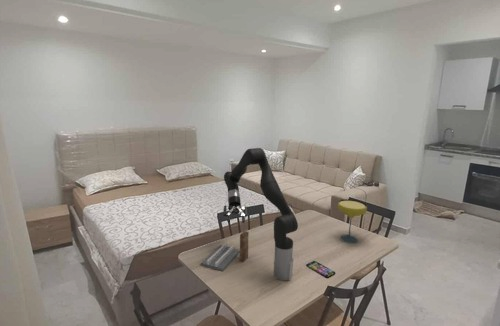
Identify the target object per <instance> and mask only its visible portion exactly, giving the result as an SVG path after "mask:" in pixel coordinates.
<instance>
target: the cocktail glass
mask: <svg viewBox="0 0 500 326" xmlns="http://www.w3.org/2000/svg"><path fill="white" fill-rule="evenodd" d="M337 209H338V210H339V211H340V212H341V213H342V214H344V215H346V216H348V218H349V219H350V220H349V228H348V234H343V235H341V236H340V240H341V239H342V241H343V242H344V243H349V244H354V243H357V242H358V238H357V237H355V236H353V235H351V226H352V220H353V218H355V217H359V216H362V215H364V214H366V212H367V211H368V206H367V204H366V203H365V202H363V201H361V200H356V199H355V200H354V199H341V200H338V202H337Z"/></svg>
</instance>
